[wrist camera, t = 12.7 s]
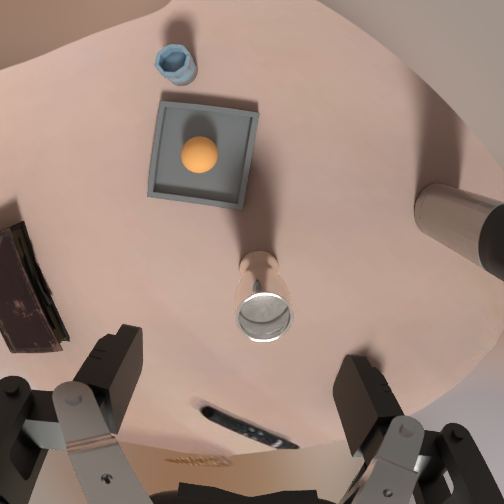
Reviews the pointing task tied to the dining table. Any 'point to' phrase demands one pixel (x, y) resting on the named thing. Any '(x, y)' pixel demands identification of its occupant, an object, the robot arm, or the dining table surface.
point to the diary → (26, 298)
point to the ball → (199, 154)
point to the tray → (228, 162)
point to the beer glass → (262, 298)
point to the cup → (176, 64)
